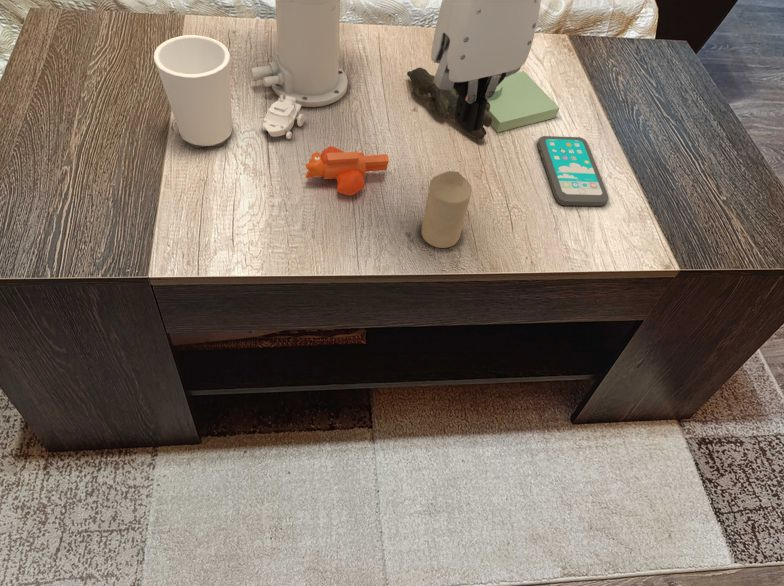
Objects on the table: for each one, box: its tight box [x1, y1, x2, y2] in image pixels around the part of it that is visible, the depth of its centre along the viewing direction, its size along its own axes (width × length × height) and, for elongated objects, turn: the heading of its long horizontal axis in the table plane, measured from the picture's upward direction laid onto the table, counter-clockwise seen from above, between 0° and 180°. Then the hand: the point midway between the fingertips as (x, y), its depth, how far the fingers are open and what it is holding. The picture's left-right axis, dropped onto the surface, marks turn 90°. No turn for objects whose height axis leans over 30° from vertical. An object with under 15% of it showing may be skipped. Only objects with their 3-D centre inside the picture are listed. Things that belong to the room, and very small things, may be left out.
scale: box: [487, 70, 560, 133], centre depth 104 cm, size 13×12×4 cm
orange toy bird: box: [305, 145, 390, 197], centre depth 89 cm, size 5×8×12 cm
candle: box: [421, 170, 473, 249], centre depth 83 cm, size 6×6×10 cm
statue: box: [406, 66, 492, 140], centre depth 100 cm, size 6×6×20 cm
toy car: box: [261, 95, 305, 140], centre depth 94 cm, size 5×8×4 cm, turn 160°
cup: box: [153, 34, 233, 149], centre depth 88 cm, size 10×10×13 cm
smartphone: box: [537, 135, 609, 207], centre depth 97 cm, size 9×1×15 cm
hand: (467, 124), depth 73 cm, fingers closed
